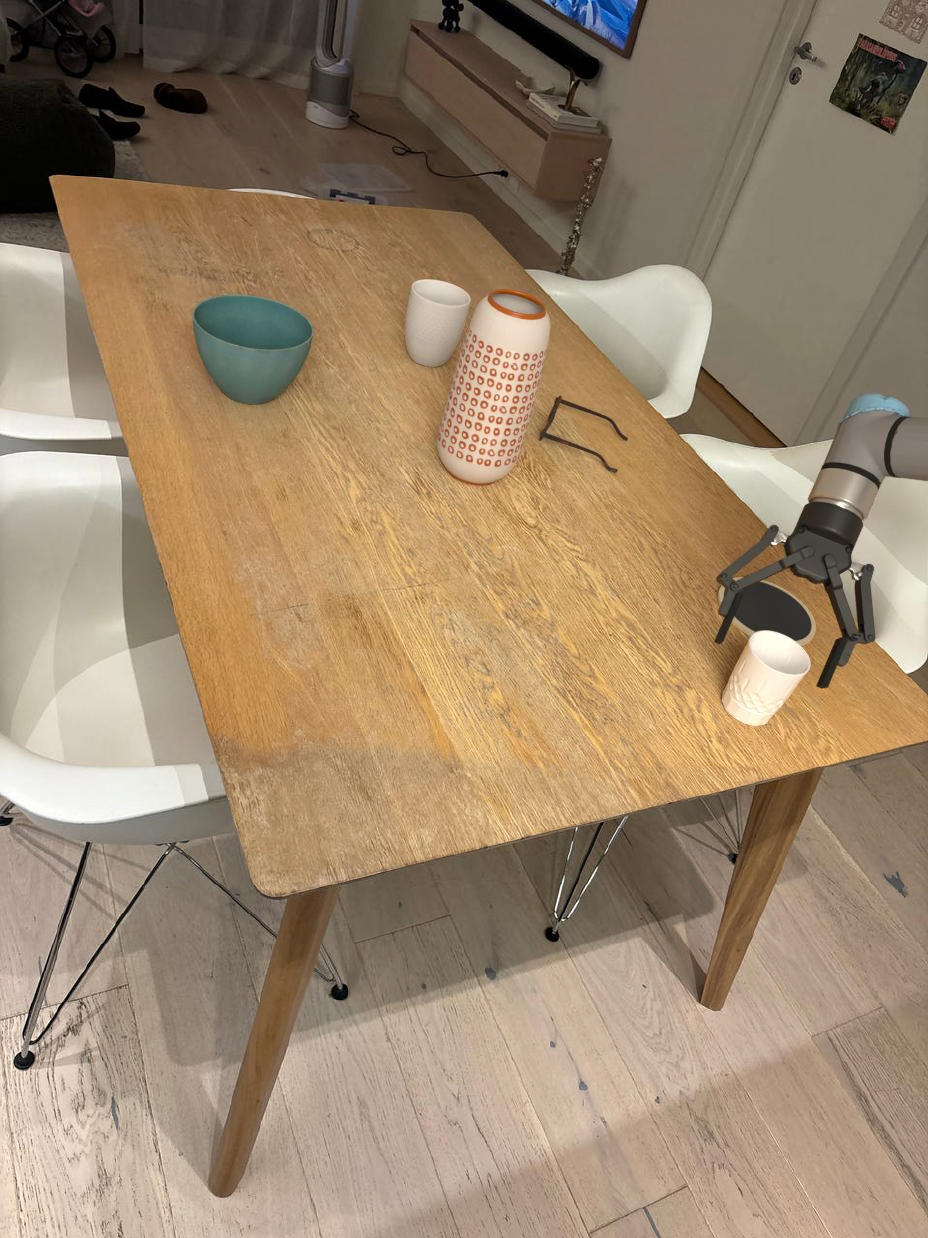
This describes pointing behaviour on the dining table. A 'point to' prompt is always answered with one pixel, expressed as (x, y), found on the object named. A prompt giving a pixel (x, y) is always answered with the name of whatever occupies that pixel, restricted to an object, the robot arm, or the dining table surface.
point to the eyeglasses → (557, 439)
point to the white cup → (764, 677)
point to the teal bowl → (251, 345)
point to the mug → (435, 321)
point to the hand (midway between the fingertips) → (769, 664)
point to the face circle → (772, 612)
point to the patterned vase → (494, 387)
